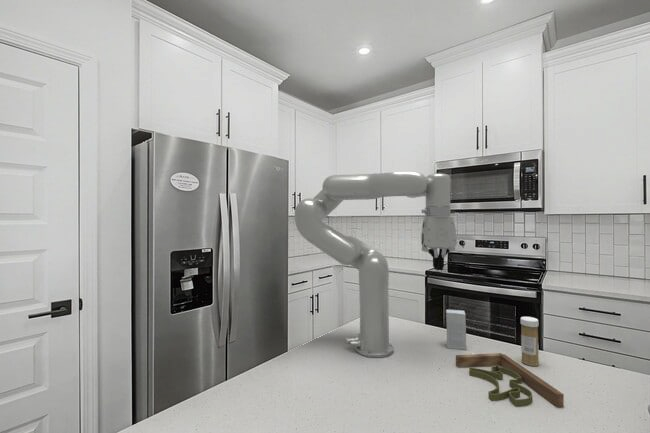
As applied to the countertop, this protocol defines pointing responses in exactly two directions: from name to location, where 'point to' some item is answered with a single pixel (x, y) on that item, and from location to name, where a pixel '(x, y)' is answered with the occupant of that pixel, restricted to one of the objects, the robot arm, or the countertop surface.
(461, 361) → the walnut fence
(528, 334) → the sprinkles bottle
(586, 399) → the countertop surface
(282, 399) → the countertop surface
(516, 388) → the cookie cutter
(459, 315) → the skincare box
